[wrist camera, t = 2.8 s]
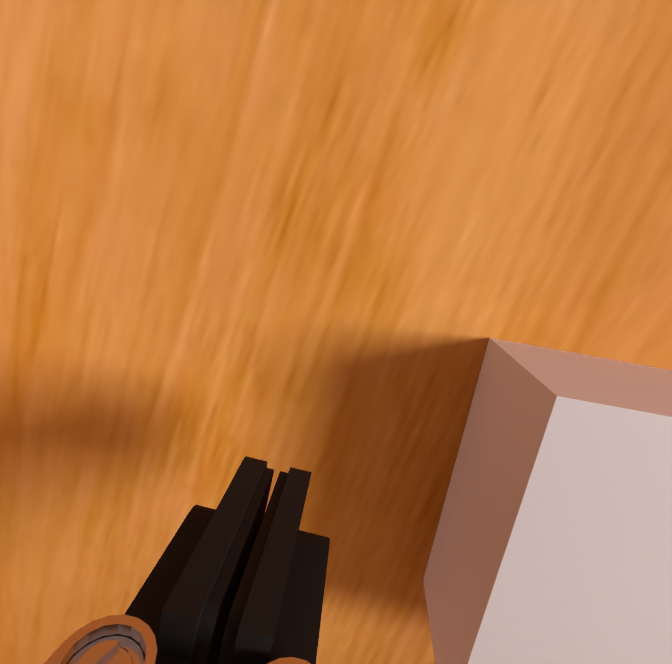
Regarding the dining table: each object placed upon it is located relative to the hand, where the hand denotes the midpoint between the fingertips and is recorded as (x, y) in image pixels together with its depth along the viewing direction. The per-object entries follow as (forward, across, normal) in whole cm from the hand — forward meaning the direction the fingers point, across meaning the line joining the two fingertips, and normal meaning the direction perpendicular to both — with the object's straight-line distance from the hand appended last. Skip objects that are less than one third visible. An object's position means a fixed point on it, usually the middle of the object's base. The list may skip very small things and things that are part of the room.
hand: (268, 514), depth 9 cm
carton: (+5, -10, 0) cm, 11 cm away
